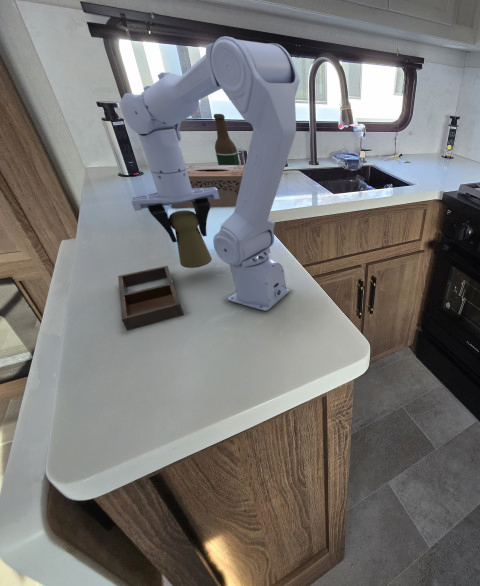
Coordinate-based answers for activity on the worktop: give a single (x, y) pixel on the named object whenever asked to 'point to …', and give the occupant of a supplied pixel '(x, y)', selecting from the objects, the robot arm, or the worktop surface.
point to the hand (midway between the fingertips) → (189, 237)
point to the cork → (189, 239)
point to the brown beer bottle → (224, 144)
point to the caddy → (148, 298)
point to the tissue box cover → (216, 183)
